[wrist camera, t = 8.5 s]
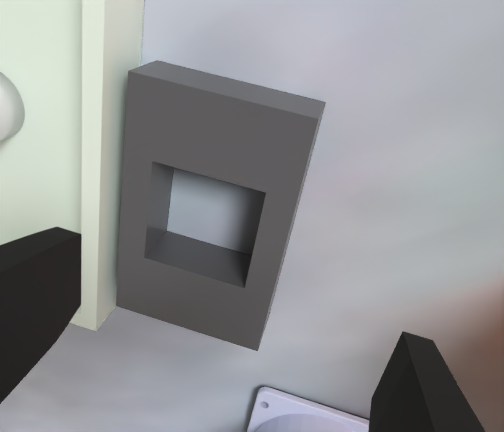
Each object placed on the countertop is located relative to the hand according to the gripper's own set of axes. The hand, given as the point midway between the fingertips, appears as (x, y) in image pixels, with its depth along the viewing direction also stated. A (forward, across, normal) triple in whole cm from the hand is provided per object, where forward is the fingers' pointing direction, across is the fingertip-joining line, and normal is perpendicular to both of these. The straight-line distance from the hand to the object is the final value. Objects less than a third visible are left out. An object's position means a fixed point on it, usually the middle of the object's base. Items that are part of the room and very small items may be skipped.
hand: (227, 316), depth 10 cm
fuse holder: (+10, +3, +3) cm, 11 cm away
